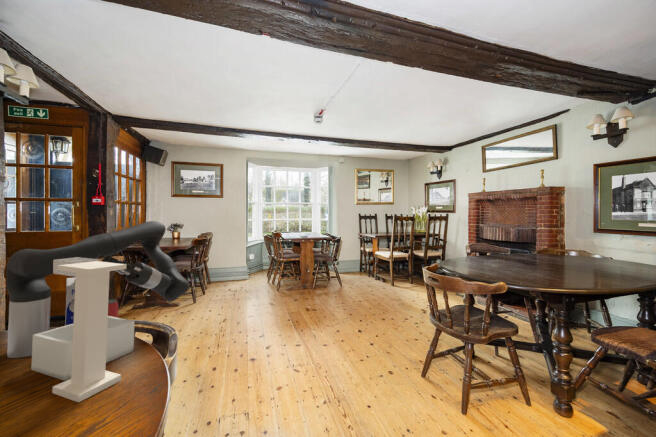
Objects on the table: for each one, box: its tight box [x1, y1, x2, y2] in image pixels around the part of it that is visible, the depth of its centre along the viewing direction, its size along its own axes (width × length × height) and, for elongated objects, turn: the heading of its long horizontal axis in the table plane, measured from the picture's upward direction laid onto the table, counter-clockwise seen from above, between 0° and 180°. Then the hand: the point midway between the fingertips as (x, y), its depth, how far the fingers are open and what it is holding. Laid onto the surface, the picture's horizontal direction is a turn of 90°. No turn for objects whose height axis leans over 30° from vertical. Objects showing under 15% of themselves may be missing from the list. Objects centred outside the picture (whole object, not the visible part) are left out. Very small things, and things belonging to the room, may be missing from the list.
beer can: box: [108, 298, 119, 318], centre depth 108 cm, size 7×7×12 cm
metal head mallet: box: [52, 255, 125, 278], centre depth 88 cm, size 10×16×4 cm, turn 161°
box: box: [30, 316, 136, 382], centre depth 88 cm, size 15×19×10 cm
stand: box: [51, 261, 127, 403], centre depth 74 cm, size 12×10×32 cm
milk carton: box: [64, 277, 75, 326], centre depth 111 cm, size 7×7×20 cm
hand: (101, 257), depth 90 cm, fingers closed on metal head mallet, 2 cm apart
